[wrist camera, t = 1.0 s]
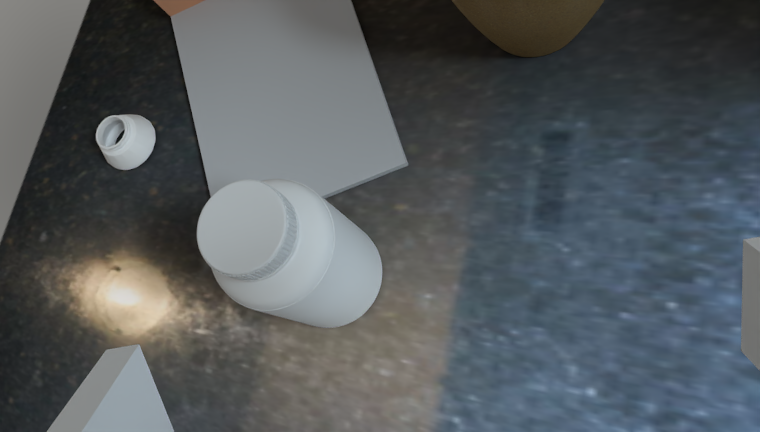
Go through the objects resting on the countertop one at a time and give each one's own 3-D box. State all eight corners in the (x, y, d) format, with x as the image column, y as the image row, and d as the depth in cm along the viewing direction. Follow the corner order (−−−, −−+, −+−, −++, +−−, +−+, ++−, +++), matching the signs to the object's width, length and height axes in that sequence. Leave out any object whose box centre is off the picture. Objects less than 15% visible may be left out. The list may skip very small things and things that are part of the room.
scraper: (323, -80, 55) (306, -114, 51) (408, 165, 47) (395, 146, 43) (168, -6, 58) (141, -33, 54) (223, 238, 49) (196, 227, 46)
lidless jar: (118, 116, 56) (102, 168, 55) (95, 102, 53) (78, 156, 52) (164, 120, 54) (149, 174, 53) (143, 106, 52) (127, 162, 51)
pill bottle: (394, 229, 46) (323, 162, 32) (373, 337, 44) (289, 317, 30) (297, 216, 48) (192, 149, 34) (274, 318, 47) (154, 291, 33)
